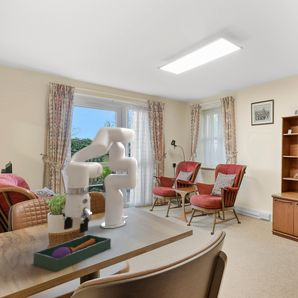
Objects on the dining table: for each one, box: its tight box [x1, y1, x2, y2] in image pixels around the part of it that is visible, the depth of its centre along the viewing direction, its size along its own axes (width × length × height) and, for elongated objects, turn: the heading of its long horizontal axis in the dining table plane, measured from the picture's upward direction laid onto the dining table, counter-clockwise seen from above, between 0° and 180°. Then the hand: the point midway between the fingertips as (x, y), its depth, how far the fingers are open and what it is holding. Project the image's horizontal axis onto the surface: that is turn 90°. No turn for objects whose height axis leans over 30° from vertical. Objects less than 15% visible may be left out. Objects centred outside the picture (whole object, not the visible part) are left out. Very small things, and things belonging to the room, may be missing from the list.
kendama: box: [52, 239, 96, 259], centre depth 100 cm, size 6×6×20 cm
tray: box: [32, 233, 112, 272], centre depth 100 cm, size 23×14×5 cm, turn 161°
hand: (75, 230), depth 100 cm, fingers open, 9 cm apart
